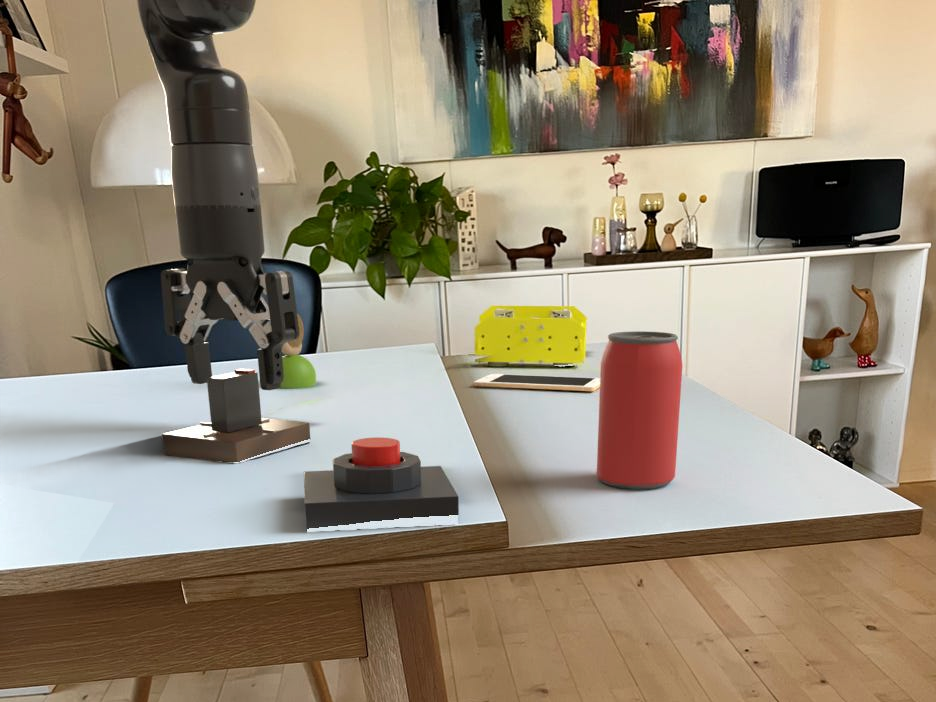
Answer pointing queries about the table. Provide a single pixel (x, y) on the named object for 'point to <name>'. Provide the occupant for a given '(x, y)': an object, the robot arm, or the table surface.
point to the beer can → (639, 410)
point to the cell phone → (539, 382)
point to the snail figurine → (296, 364)
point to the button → (376, 451)
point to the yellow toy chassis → (531, 335)
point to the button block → (376, 492)
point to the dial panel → (234, 440)
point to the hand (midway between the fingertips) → (236, 385)
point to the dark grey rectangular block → (234, 400)
